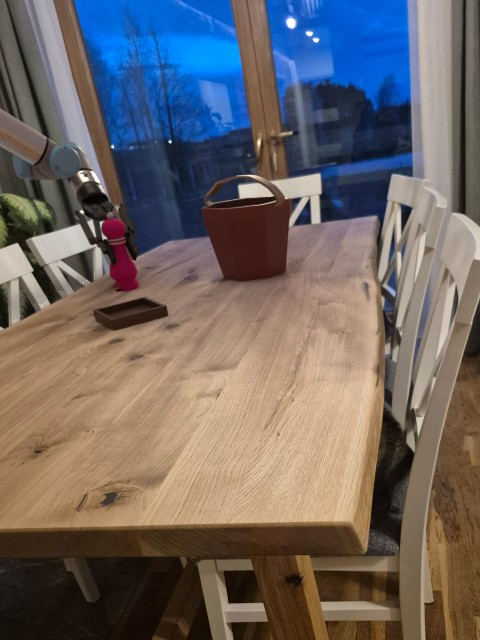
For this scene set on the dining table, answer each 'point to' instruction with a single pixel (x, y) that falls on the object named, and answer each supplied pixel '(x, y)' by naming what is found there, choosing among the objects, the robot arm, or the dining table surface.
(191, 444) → the dining table surface
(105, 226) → the pepper mill
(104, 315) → the base tray
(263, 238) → the bucket
